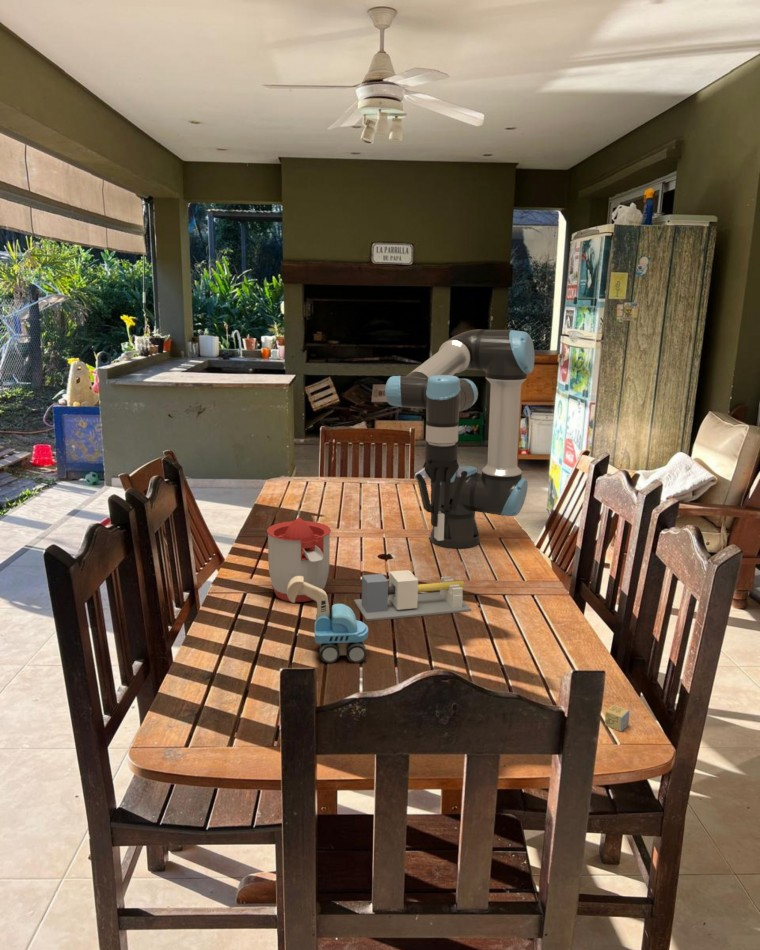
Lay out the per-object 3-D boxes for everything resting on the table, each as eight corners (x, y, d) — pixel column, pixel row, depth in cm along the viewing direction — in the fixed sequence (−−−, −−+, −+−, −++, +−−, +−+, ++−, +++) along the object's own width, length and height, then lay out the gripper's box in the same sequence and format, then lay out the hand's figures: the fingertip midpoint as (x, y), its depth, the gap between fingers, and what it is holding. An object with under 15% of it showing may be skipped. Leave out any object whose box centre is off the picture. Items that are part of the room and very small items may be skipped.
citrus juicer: (287, 614, 177) (286, 532, 173) (257, 590, 192) (256, 514, 187) (345, 601, 185) (346, 523, 181) (312, 579, 200) (312, 506, 195)
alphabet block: (620, 732, 131) (622, 716, 130) (604, 725, 133) (605, 710, 132) (628, 725, 133) (630, 710, 133) (611, 719, 135) (613, 703, 135)
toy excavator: (288, 646, 161) (287, 569, 157) (366, 644, 162) (367, 569, 159) (286, 664, 153) (286, 585, 149) (369, 663, 154) (370, 584, 150)
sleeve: (408, 596, 186) (409, 570, 185) (417, 607, 180) (418, 580, 178) (388, 598, 185) (389, 571, 184) (397, 609, 179) (397, 581, 177)
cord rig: (453, 592, 192) (454, 562, 191) (471, 611, 181) (473, 579, 179) (354, 601, 185) (354, 570, 184) (366, 621, 174) (367, 588, 172)
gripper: (461, 438, 181) (458, 531, 187) (410, 440, 178) (408, 536, 184) (473, 444, 174) (470, 541, 180) (420, 447, 171) (418, 546, 177)
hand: (438, 538), depth 182 cm, fingers closed
